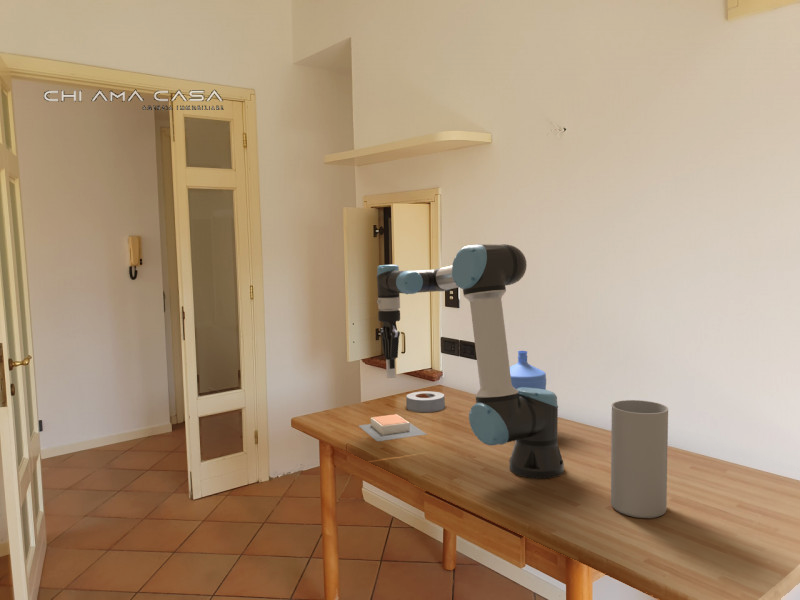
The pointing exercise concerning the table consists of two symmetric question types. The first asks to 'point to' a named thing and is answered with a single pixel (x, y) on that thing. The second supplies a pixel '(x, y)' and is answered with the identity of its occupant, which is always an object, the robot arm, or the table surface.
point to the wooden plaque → (390, 424)
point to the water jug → (526, 374)
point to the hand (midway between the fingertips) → (391, 377)
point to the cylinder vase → (639, 458)
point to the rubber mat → (379, 437)
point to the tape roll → (425, 401)
